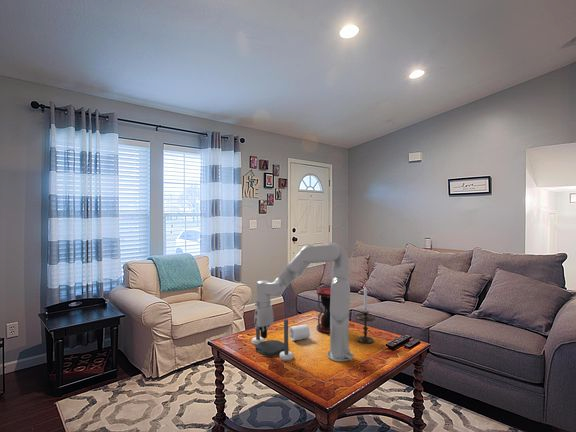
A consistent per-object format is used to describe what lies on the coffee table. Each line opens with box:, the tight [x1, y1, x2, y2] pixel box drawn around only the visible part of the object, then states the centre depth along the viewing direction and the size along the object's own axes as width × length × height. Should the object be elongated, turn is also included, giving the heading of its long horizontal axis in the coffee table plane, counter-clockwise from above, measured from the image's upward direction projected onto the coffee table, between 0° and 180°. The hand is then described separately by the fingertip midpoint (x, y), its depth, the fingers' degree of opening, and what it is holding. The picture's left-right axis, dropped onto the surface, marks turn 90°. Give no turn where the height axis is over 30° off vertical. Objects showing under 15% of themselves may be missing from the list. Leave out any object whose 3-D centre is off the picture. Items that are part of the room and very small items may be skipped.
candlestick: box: [355, 281, 376, 345], centre depth 198 cm, size 11×11×35 cm
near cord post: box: [279, 318, 294, 362], centre depth 177 cm, size 7×7×20 cm
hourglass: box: [316, 287, 331, 335], centre depth 216 cm, size 16×16×25 cm
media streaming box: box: [255, 339, 284, 358], centre depth 187 cm, size 15×15×3 cm
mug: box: [288, 323, 311, 342], centre depth 203 cm, size 12×10×8 cm
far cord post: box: [251, 328, 265, 346], centre depth 197 cm, size 7×7×20 cm
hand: (263, 337), depth 184 cm, fingers closed
